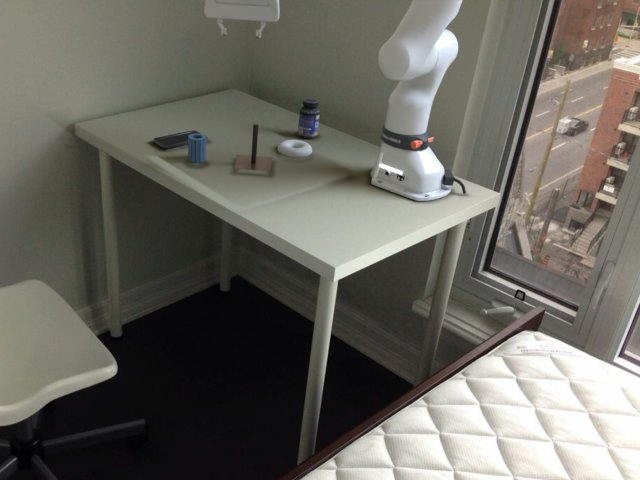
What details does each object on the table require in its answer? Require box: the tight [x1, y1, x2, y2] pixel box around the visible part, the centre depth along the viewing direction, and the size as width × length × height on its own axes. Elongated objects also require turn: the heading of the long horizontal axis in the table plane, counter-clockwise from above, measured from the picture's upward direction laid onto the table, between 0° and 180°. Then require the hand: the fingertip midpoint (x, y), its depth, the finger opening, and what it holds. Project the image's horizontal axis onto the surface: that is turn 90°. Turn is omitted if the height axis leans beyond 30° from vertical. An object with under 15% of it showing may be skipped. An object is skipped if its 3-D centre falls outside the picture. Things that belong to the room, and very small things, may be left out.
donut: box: [277, 139, 313, 158], centre depth 209 cm, size 10×4×10 cm
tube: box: [187, 133, 207, 164], centre depth 199 cm, size 5×5×8 cm
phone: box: [152, 129, 208, 151], centre depth 213 cm, size 8×1×15 cm
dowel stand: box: [234, 123, 273, 172], centre depth 197 cm, size 10×10×12 cm
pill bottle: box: [297, 97, 321, 140], centre depth 221 cm, size 6×6×11 cm
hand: (240, 36), depth 197 cm, fingers open, 8 cm apart
